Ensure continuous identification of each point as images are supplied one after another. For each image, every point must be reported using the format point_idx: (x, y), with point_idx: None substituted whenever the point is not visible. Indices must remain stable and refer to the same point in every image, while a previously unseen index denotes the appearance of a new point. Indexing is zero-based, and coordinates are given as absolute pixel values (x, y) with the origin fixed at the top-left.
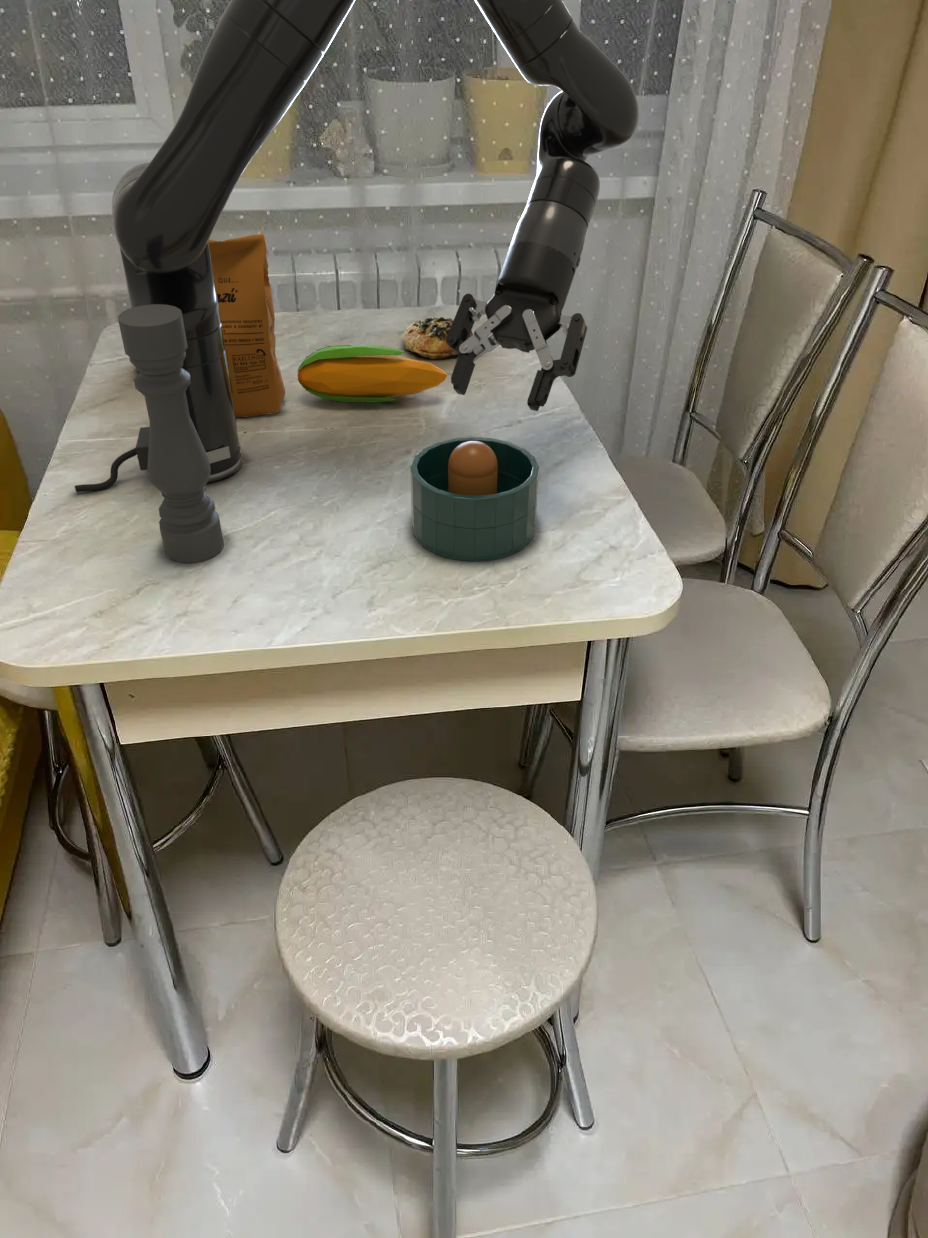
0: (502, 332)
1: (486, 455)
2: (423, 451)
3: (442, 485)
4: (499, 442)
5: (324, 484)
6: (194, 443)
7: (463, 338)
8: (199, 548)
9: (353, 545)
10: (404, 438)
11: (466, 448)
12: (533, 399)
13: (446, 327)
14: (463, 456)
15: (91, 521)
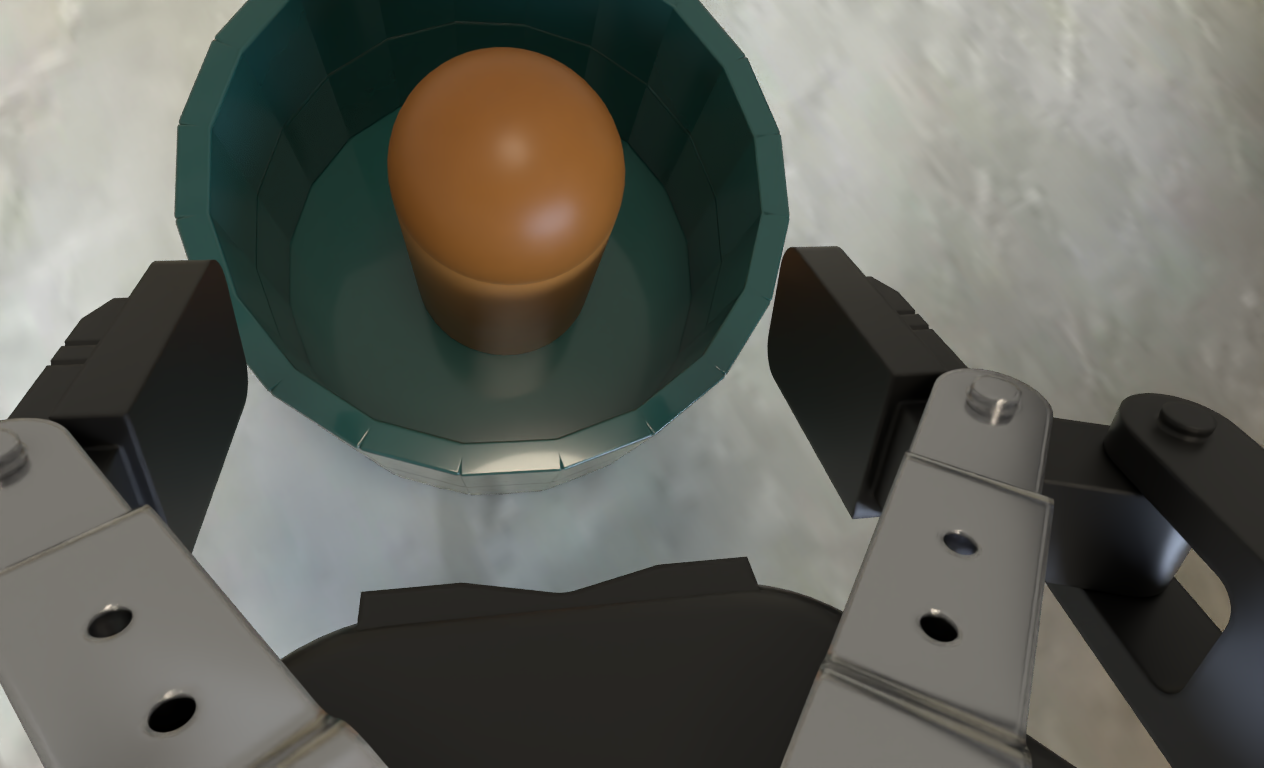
0: (731, 630)
1: (420, 111)
2: (773, 189)
3: (690, 342)
4: (510, 444)
5: (1065, 279)
6: None
7: (1145, 644)
8: None
9: (769, 24)
10: (1068, 721)
11: (523, 73)
12: (155, 262)
13: None
14: (517, 50)
15: None
